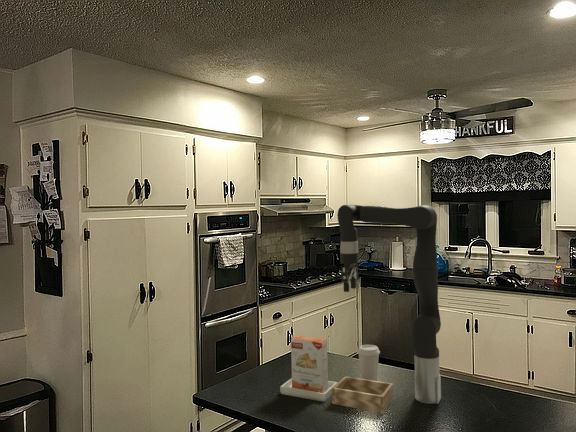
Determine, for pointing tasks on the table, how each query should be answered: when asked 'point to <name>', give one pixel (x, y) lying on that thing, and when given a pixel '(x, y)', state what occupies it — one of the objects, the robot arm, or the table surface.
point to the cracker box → (309, 364)
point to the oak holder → (363, 394)
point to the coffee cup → (368, 361)
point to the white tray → (312, 395)
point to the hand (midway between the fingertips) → (350, 290)
